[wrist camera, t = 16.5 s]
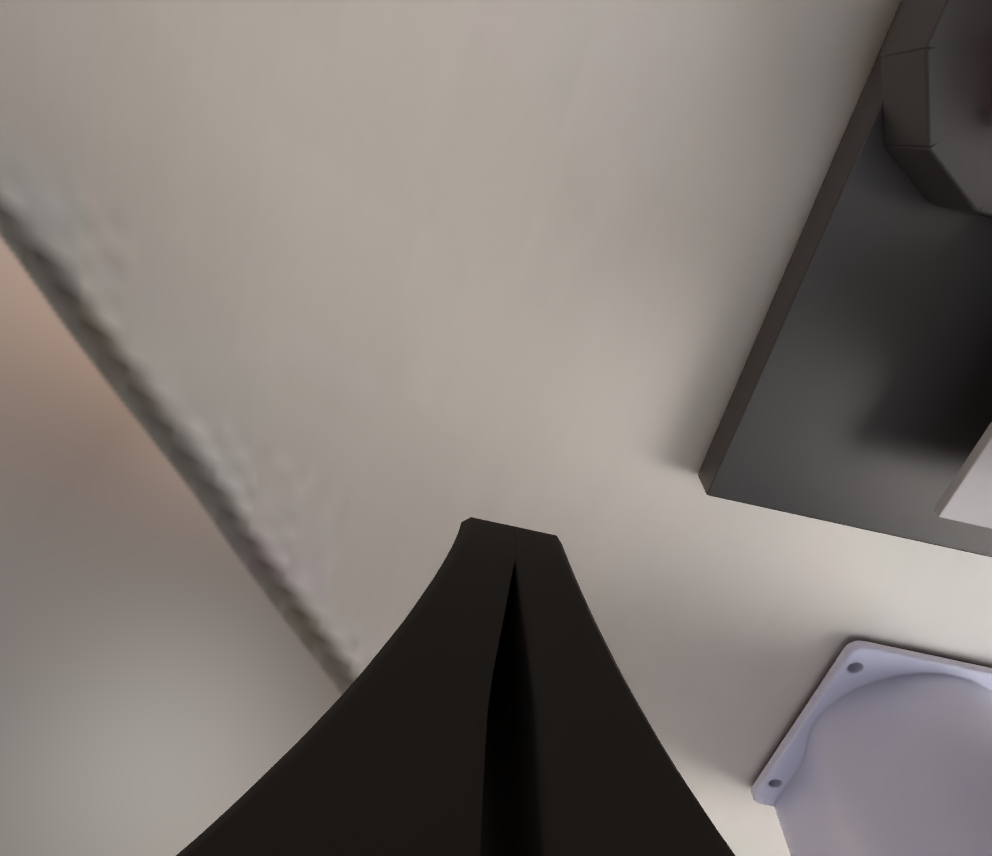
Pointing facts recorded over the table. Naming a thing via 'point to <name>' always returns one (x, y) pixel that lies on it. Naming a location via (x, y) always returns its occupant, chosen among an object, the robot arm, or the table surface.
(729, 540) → the table surface
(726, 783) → the table surface
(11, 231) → the table surface
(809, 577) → the table surface
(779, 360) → the grey base plate
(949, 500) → the tower
